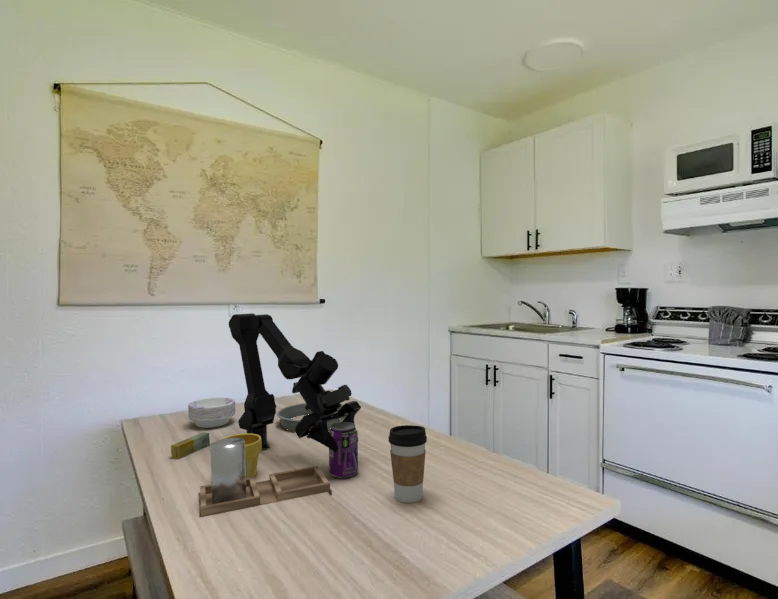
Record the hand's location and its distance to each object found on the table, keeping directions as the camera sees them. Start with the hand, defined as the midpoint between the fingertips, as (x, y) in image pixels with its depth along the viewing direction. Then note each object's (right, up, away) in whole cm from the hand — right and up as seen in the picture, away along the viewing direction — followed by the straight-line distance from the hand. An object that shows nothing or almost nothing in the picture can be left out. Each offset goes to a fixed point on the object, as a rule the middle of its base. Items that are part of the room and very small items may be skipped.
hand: (347, 446), depth 110 cm
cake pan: (-16, -7, +46) cm, 49 cm away
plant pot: (-26, -8, -1) cm, 27 cm away
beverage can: (-1, -7, +1) cm, 7 cm away
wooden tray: (-17, -8, -10) cm, 22 cm away
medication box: (-47, -8, +19) cm, 51 cm away
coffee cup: (+14, -7, -12) cm, 20 cm away
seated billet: (-24, -7, -13) cm, 28 cm away
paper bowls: (-51, -7, +46) cm, 69 cm away
